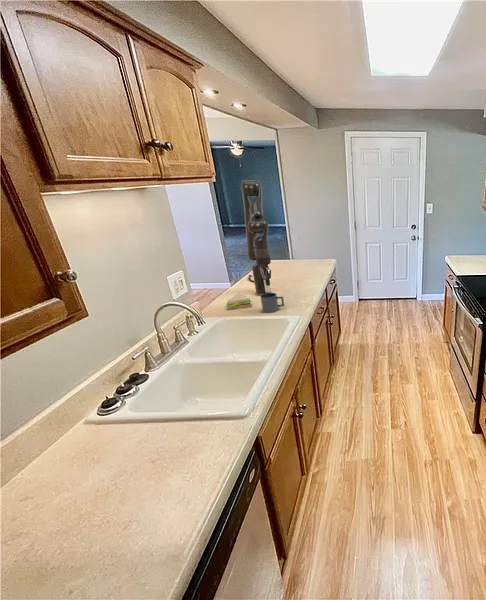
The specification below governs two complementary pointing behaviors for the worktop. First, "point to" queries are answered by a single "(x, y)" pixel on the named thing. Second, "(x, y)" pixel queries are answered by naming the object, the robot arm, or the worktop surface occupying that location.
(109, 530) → the worktop surface
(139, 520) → the worktop surface
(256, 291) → the robot arm
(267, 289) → the glue stick
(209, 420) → the worktop surface
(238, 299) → the sandwich
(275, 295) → the mug
